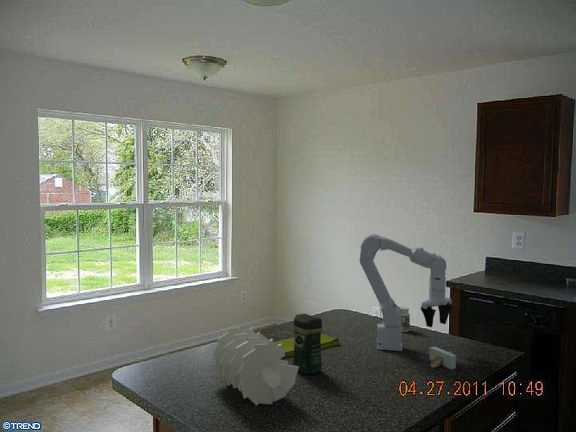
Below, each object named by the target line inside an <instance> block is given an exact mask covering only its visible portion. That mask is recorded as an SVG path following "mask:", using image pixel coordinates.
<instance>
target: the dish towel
mask: <svg viewBox="0 0 576 432" xmlns="http://www.w3.org/2000/svg"><path fill="white" fill-rule="evenodd" d="M294 341H295V337H291V338H287V339H282V340H277V341H273V342H274V344H276V345H279V344H281V345H282V348H283V350H284V353H285V356H284V357H282V358H281V359H284V358H290V357H293V356H294ZM339 345H340V338H339V337H338V338H337V337H335V338H334V337H330V336H328V335H326V334H323V333H321V350H324V349H328V348H331V347H335V346H339Z"/></svg>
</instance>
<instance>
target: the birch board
mask: <svg viewBox="0 0 576 432" xmlns="http://www.w3.org/2000/svg"><path fill="white" fill-rule="evenodd" d="M448 352H449V353H452V354H454V352H453V351H448ZM440 366H443V358H440V355H435V356H431V360H430V367H431V368H438V367H440Z"/></svg>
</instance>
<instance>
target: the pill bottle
mask: <svg viewBox="0 0 576 432" xmlns="http://www.w3.org/2000/svg"><path fill="white" fill-rule="evenodd" d="M398 307H399V308H400V309H401V311H402V315H401V317H400V322H401V323H402V333H407V332H409V331H410V327H411V325H410V323H411V319H410V318H411V314H410V313H409V310H410V308H409V307H407V306H398Z"/></svg>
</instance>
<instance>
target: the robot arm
mask: <svg viewBox="0 0 576 432" xmlns="http://www.w3.org/2000/svg"><path fill="white" fill-rule="evenodd" d="M386 250H388V251H389V250H390V251H392V252H395V253H397V254H399V255H402V256H405V257H408V258H409V260H410V262H411V263H414V264H416V265H418V266H421V267H423V268H426V269H430V275H429V287H428V299H427V300H425V301H422V302H421V306H420V311H421V312H422V314H423V317H424V321H425V324H426V325H425V326H426V327H428V328H433V325H434V317H435V314H436V311H437V309H438V313H439V323H440V324H442V325H446V324H447V321H448V317H449V314H450V313H451V311H452V309H453V308H454V307H453V305H452V304H453V302H452V298H450V297H446V282H447V281H446V280H447V277H446V274H447V273H446V270H447V261H446V259H445V258H444V257H442V256H441V255H437V254H436V253H434V252H433V253H431V252H429V251H426V250H424V248H423V247H415V248H410V247H409V246H406V245H404V244H402V243H399V242H397V241H395V240H393V239H391V238H388V237H386V236H382V235H381V236H380V235H378V234H377V233H376V234H375V233H373V234H370V235H369V236H367V237H365V238H364V240H363V241H362V242H361V245H360V255H359V263H360V266H361V268H362V270H363V272H364V274H365V276H366V279H367V280H368V283H369V284H370V286H371V288H372V291H373V293H374V295H375V297H376V299H377V301H378V303H379V307H380V311H381V313H382V322H381V323H377V324H376V325H377V329H376V330H377V331H376V332H377V333H376V338H375V339H376V340H375V343H376V350H381V351H382V350H383V351H385V350H386V351H397V352H403V344H402V333H403V332H402V323H401V322H400V317H401V315H402V311H401V309H400V308H399V307H400V306H398V305H397V304H396V302H395V300H394V299H393V298H392V297H391V295H390V293H389V290H388V289H387V286H386V285H385V282H384V280H383V278H382V276H381V274H380V272H379V269H378V268H377V266H376V264H375V262H374V261H375V257H376V254H377V253H378V251H386ZM434 307H437V309H434Z"/></svg>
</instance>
